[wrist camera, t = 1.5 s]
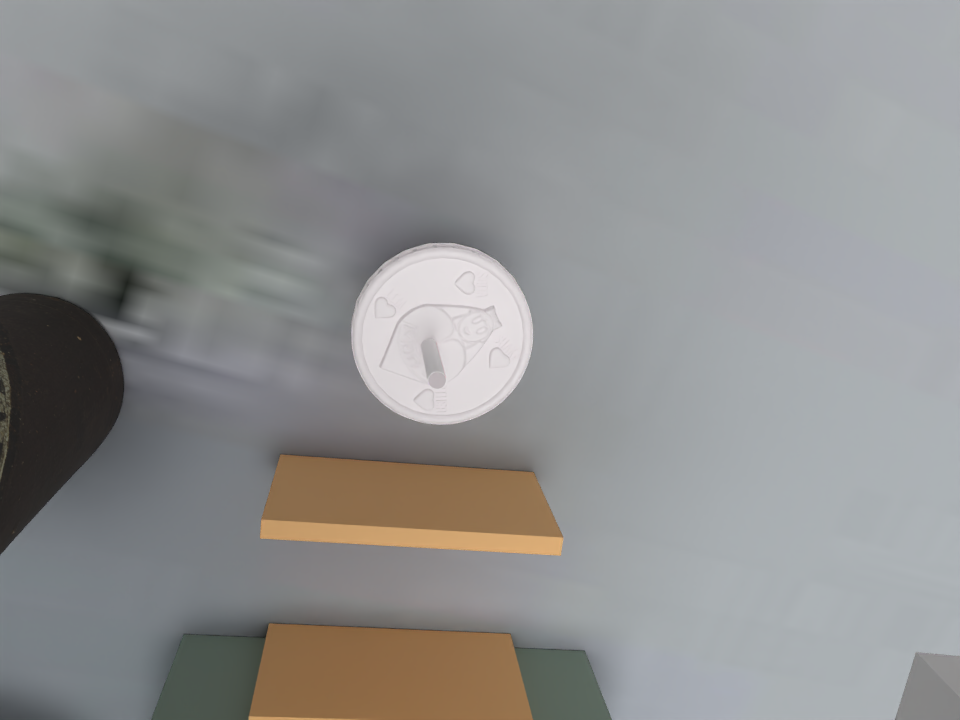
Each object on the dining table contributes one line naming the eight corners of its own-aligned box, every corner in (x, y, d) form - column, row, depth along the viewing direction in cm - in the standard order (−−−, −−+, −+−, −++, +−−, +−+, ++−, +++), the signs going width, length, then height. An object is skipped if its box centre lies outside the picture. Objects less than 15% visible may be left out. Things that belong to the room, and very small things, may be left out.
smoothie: (332, 251, 38) (307, 319, 25) (466, 194, 38) (513, 229, 25) (391, 379, 40) (398, 506, 27) (519, 324, 40) (591, 423, 27)
